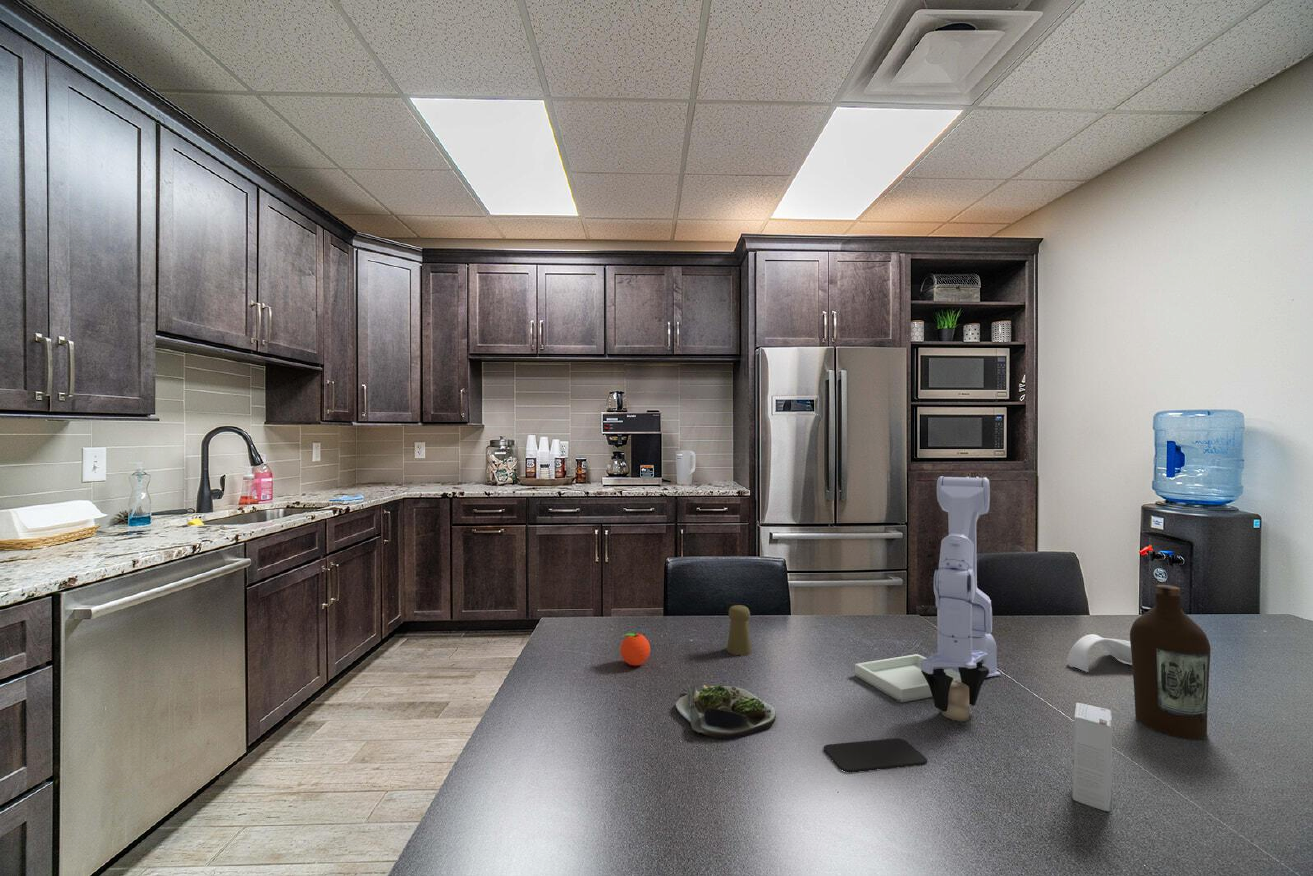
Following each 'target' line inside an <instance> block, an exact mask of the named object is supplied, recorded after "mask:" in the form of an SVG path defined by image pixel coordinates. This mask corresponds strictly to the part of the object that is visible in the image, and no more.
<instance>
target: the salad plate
mask: <svg viewBox="0 0 1313 876" xmlns="http://www.w3.org/2000/svg"><path fill="white" fill-rule="evenodd" d="M686 689H687V694H686V695H684V696H681V697H680V698H679V699H678V700H677V702H676V703H675V707H676V709H677V711H678V712H679V714H680V715H681V716H683V717H684V719H686V721H688V722H689V723H690V725H691V729H692V730H693V731H695V732H697V733H701V734H703V735H705V736H707V737H711V738H714V739H720V740H721V739H722V740H723V739H724V740H731V739H737V738H742V737H747V736H749V735H754V734H757V733H760V732H763V731H766V730H767V729H768V728H770V727H771V726H772V725H773V724H774V723H775V721H776V718H777V714H776V710H775V708H774V707H773V706H772V705H770V704H769V703H767V702H765V701H763V700H762V699H760V698H758V697H757V696H756V695H754V694H752V693H751V692H750V691H748V690H747V689H744V688H741V687H736V686H728V685H727V686H726V685H725V686H722V685H721V684H720V685H719V684H717V685H711V686H708V687H707V685H706V684H703V685H702V688H701V691H698V689H697V687H696V685H695V684H688V685H687V686H686ZM732 701H734V702H732Z"/></svg>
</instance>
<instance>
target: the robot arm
mask: <svg viewBox="0 0 1313 876" xmlns="http://www.w3.org/2000/svg"><path fill="white" fill-rule="evenodd" d="M990 486H991V485H990V479H988V478H987V477H986V476H983V477H965V476H964V477H963V476H962V477H961V476H960V477H959V476H943V475H942V476H941V475H940V476H939V477H938V478H937V481H936V499H937V502H938V505H939V507H940V508H941V510H942V511H944V512H946V513H947V515H948V516H947V517H948V521H947V522H948V524H947V525H948V535H946V536H945V537H943V538H942V540H941V542H940V553H939V559H938V561H939V562H938V569H935V570H934V575H933V592H934V597H935V607H936V608H937V610H936V611H937V652H936V653H934V654H932V655H930V656H929V657H925V658H926V659H923V660H921V672H922V674H923V675H924V677H925V679H926V681H927V683H928V685H929V687H930V690H931V693H932V696H933V697H932V700H933V704H934V708H936V709H938V710H939V711H943V712H945V711H947V708H948V695H949V689H950V686H951V683H952V681H953V678H952V677H950V676H948V675H946V672H944V670H945V669H952V670H954V671H956V672H958V673H960V677H961V683H964V684H966V685H967V686H968V687H969V706H970V705H971V706H976V703H977V700H978V696H979V694H980V691H981V687H982V685H983V683H984V681H986V679H987V678H991V677H997V676H1000V675H1001V672H999V671H998V670H997V669H998V668H997V660H998V659H997V644H996V640H995V638H994V637H993V635H992V631H993V608H992V600H991V599H990V597H989V596H988V595H987V594H986V593H985V592H983V591H982V590H981V589H979V588H978V585H977V584H978V580H977V579H978V578H977V575H978V573H977V572H978V571H977V570H978V569H977V568H978V566H977V565H978V564H977V563H978V561H977V553H978V552H977V522H978V519H979V517H980V516H983V515H985V514H988V513H989V510H990V503H991V502H990V498H991V491H990V490H991V487H990Z"/></svg>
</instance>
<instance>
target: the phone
mask: <svg viewBox="0 0 1313 876" xmlns="http://www.w3.org/2000/svg"><path fill="white" fill-rule="evenodd" d="M823 752H824V753H825V755H828V756H829V757H830V758H831V759H830V758H829V757H828V756H827V757H828V758H829V759H830V760H831V761H832V760H833V761H832V762H833V763H835V764H836V765H837V766H838V767H837V766H836V765H835V764H834V765H835V766H836V767H837V769H839V770H840V769H841V770H843V771H845V772H849V773H848V774H853V773H852V772H856V773H860V772H859V771H865V772H870V771H869V770H875V771H878V770H877V769H882V770H888V769H897V767H900V768H905V766H908V767H914V766H913V765H917V766H924V765H927V764H928V759H927V757H926V756H924V754H922V753H921V752H920V751H919V750H917V749H916V748H915V747H914V746H913V745H912V744H911V743H909V742H908V741H906V740H905V739H903V738H898V737H895V738H894V737H893V738H884V739H874V740H873V739H872V740H862V741H851V742H842V743H839V742H838V743H832V744H831V743H829V744H826V745H823ZM926 763H927V764H926ZM841 770H840V771H841ZM843 771H842V772H843ZM845 772H844V773H845ZM850 772H851V773H850Z"/></svg>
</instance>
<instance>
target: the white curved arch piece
mask: <svg viewBox="0 0 1313 876" xmlns="http://www.w3.org/2000/svg"><path fill="white" fill-rule="evenodd" d="M1098 644H1101V645H1102V646H1103V648H1104V649H1105V650H1106V651H1107V652H1108V653H1109V655H1110V656H1111V657H1113V658H1114V657H1115V658H1117V659H1120V660H1123V661H1126V662H1129V663H1132V655H1131V644H1130V640H1124V639H1118V638H1108V637H1107V638H1106V637H1105V638H1104V637H1101V636H1100V635H1098V634H1092V633H1091V634H1086V635H1084V636H1081V638H1079V639H1078V640H1077V641H1076V642H1075V643H1074V645H1073V646H1071V649H1070V651H1068V655H1067V659H1066V665H1067V664H1070V665H1072V666H1074V667H1076V668H1080V669H1082V670H1085V671H1088V672H1089V655H1090V652H1091V650H1092V649H1093V648H1095V646H1097V645H1098ZM1115 658H1114V659H1115Z"/></svg>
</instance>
